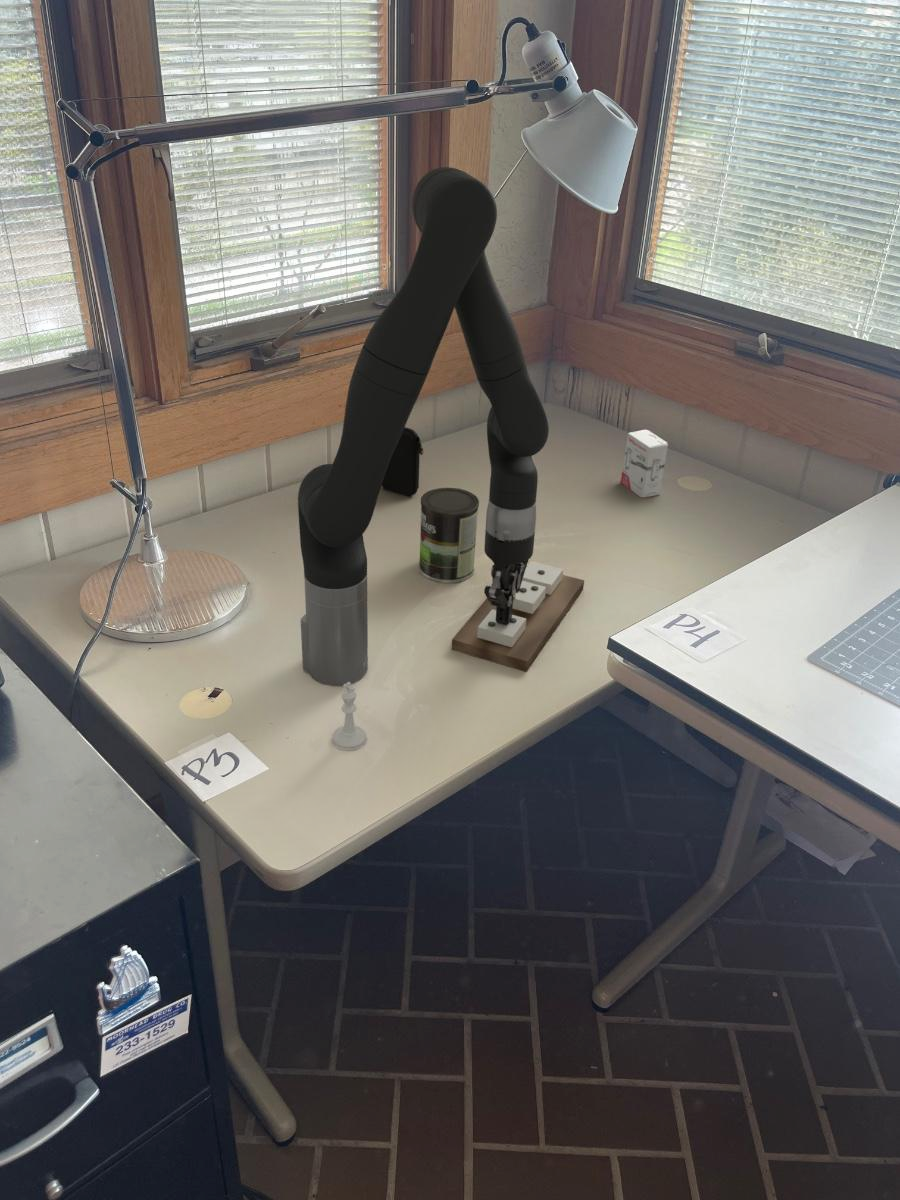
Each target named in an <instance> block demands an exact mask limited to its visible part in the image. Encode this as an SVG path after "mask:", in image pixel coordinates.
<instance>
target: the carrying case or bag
mask: <svg viewBox="0 0 900 1200" xmlns="http://www.w3.org/2000/svg"><path fill="white" fill-rule="evenodd" d="M423 454H424V448H423V444H422V440H421V438H420V437H419V435H418V433H417V432H416V431H415V430H414V429H412V428H410V427H406V426H405V428H404V430H403V432H402V434H401V437H400V439H399V441H398V443H397V446H396V448H395V450H394V452H393V454H392V457H391V459H390V461H389V464H388V467H387V469H386V472H385V475H384V479H383V482H382V485H381V488H383V489H385V490H390V491H392V492H394V493H395V492H396V493H398V494H401V495H405V496H407V497H411V496H414V495H416V494H417V492H418V490H419V488H420V486H419V485H420V458H421V457H420V455H421V456H423Z"/></svg>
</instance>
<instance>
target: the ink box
mask: <svg viewBox="0 0 900 1200" xmlns="http://www.w3.org/2000/svg"><path fill="white" fill-rule="evenodd" d="M668 446H669V444H668V441H665V440H664V439H662V438H661V437H660V436H658V435H656V434H655V433H653V432H652V431H651V430H648V429H641V430H636V431H631V432H628V433H627V439H626V444H625V451H624V457H623V463H622V469H621V470H622V471H621V478H620V483H621V484H622V485H623V484H624V486H625V487H626V488H628V489H629V490H630V491H631V492H632V493H635V494H636V495H637V496H639V497H640V498H641V497H642V498H643V497H644V498H648V497H653V496H659V495H660V494H661V489H662V484H663V483H662V482H663V477H664V471H665V464H666V458H667V453H668V448H669V447H668ZM644 498H643V499H644Z"/></svg>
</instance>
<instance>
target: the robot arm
mask: <svg viewBox="0 0 900 1200" xmlns="http://www.w3.org/2000/svg"><path fill="white" fill-rule="evenodd" d="M411 200H412V201H411V210H412V211H411V212H412V216H413V219H414V222H415V225H416V227H417V229H418V230H419V231H420V232H421V237H420V240H419V243H418V246H417V249H416V252H415V255H414V258H413V260H412V264H411V266H410V270H409V272H408V274H407V275H406V278H405V280H404V282H403V283H402V285H401V287H400V288H399V291H398V292H397V293H396V294H395V296H394V297H393V298H392V299H391V301H390V302H389V303H388V305H387V306H386V307H385V308H384V310H382V312H381V314H380V315H379V317H378V318H377V319H376V320H375V322H374V324H373V325H372V327H371V329H370V330H369V332H368V334H367V337H366V338H365V340H364V343H363V345H362V348H361V349H360V353H359V355H358V358H357V361H356V362H355V366H354V369H353V371H352V374H351V378H350V382H349V386H348V390H347V395H346V403H345V407H344V408H345V409H344V417H343V425H342V432H341V437H340V443H339V447H338V449H337V452H336V455H335V457H334V459H333V462H332V463H325V464H321V465H318V466H316V467H315V468H312V469H311V470H310V471H308V473H307V474H306V475H305V476H304V478H303V479H302V481H301V482H300V486H299V489H298V494H297V508H298V510H297V511H298V525H299V526H298V529H299V542H300V543H299V544H300V551H301V557H302V564H303V577H304V578H303V579H304V596H305V597H304V598H305V602H304V603H305V614H304V615H303V616H301V618H300V635H301V636H300V638H301V656H302V658H301V659H302V670H303V671H305V672H307V673H309V675H310V676H311V677H312V679H314V680H315V681H316V682H319V683H321V684H324V685H329V686H343V685H344V684H346V683H347V682H350V683H351V684H353V683H356V682H358V681H359V680H361V679H362V678H363V677H364V676H365V675H366V674H367V671H368V668H369V667H368V666H369V665H368V663H369V662H368V661H369V656H368V654H369V652H368V651H369V650H368V649H369V648H368V644H369V643H368V641H369V640H368V639H369V637H368V634H369V633H368V625H369V624H368V619H369V618H368V557H367V552H366V548H365V541H364V536H363V535H364V534H365V532H366V530H367V529H368V527H369V525H370V524H371V520H372V517H373V515H374V511H375V508H376V504H377V501H378V498H379V496H380V491H381V488H382V486H381V485H382V482H383V479H384V475H385V472H386V469H387V467H388V464H389V461H390V459H391V457H392V454H393V452H394V450H395V448H396V446H397V443H398V441H399V439H400V437H401V434H402V432H403V430H404V428H405V427H406V425H407V422H408V421H409V418H410V415H411V414H412V411H413V409H414V407H415V404H416V403H417V400H418V398H419V397H420V394H421V391H422V389H423V386H424V384H425V382H426V381H427V380H426V379H427V376H428V375H429V373H430V370H431V368H432V364H433V362H434V359H435V357H436V354H437V352H438V350H439V347H440V344H441V342H442V340H443V338H444V335H445V333H446V330H447V328H448V326H449V323H450V320H451V317H452V314H453V312H454V310H455V313H456V315H457V318H458V322H459V325H460V328H461V331H462V334H463V337H464V341H465V344H466V348H467V352H468V355H469V357H470V361H471V363H472V367H473V370H474V372H475V376H476V379H477V381H478V383H479V387H480V388H481V390H482V391H483V393H484V394H485V396H486V397H487V399H488V400H489V401H488V402H490V405H491V408H490V409H489V411H488V415H487V420H486V438H487V439H486V440H487V446H488V447H487V449H488V457H489V458H488V459H489V464H490V479H489V495H488V503H487V508H486V516H485V532H484V533H485V534H484V546H483V547H484V554H485V555H486V557H488V558H489V559H490V560H491V561H492V563H493V565H492V566H491V569H490V575H491V578H492V579H491V580H492V581H491V585H486V586H485V588H484V592H483V593H484V595H485V597H486V598H487V599H488V601H489V602H490V604H491V605H493V606H497V607H496V622H497V623H500V624H504V625H508V624H509V622H510V621H511V620H512V609H513V602H514V600H515V598H516V593H518V592H519V591H520V587H521V583H522V580H523V576H524V573H525V570H526V566H528V563H529V560H530V559H531V558H532V556H533V554H534V546H535V534H536V523H537V495H538V493H537V492H538V481H539V480H538V477H539V476H538V475H539V474H538V470H537V468H536V465H535V463H534V461H533V458H532V457H533V456H534V455H537V454H538V453H539V452H540V451H541V450H542V449H544V447H545V446H546V443H547V441H548V437H549V430H550V428H549V422H548V417H547V413H546V411H545V408H544V406H543V404H542V402H541V399H540V397H539V395H538V393H537V389H536V387H535V386H534V383H533V381H532V379H531V377H530V374H529V372H528V367H527V362H526V358H525V356H524V351H523V348H522V345H521V342H520V341H521V340H520V338H519V335H518V332H517V329H516V327H515V323H514V321H513V319H512V316H511V314H510V311H509V310H508V307H507V305H506V302H505V300H504V299H503V296H502V295H501V292H500V290H499V287H498V285H497V283H496V281H495V279H494V276H493V273H492V270H491V268H490V265H489V263H488V259H487V256H486V255H487V254H486V252H485V250H486V248H487V246H488V244H489V243H490V241H491V238H492V236H493V234H494V231H495V227H496V223H497V219H498V218H497V217H498V209H497V208H498V207H497V202H496V200H495V197H494V194H493V192H492V191H491V189H489V187H488V186H487V185H486V184H485V183H484V182H482V181H481V180H479V179H478V178H476V177H474V176H472V175H470V174H469V173H468V172H466V171H463V170H461V169H459V168H456V167H451V166H441V167H437V168H434V169H432V170H429V171H428V172H426V173H425V175H423V176H422V177H421V178H420V180H419V181H418V182H417V184H416V186H415V188H414V191H413V194H412V198H411Z"/></svg>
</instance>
